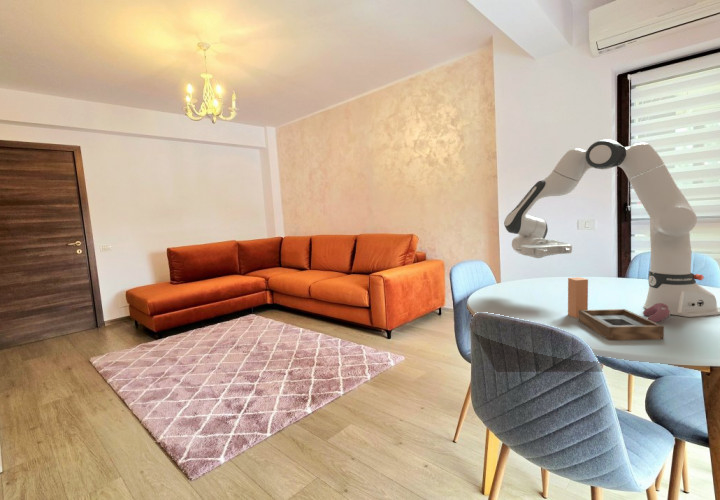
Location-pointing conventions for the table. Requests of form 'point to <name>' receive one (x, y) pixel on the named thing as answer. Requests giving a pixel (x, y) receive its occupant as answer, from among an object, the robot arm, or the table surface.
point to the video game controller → (657, 312)
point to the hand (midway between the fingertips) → (557, 251)
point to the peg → (577, 296)
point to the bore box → (621, 325)
